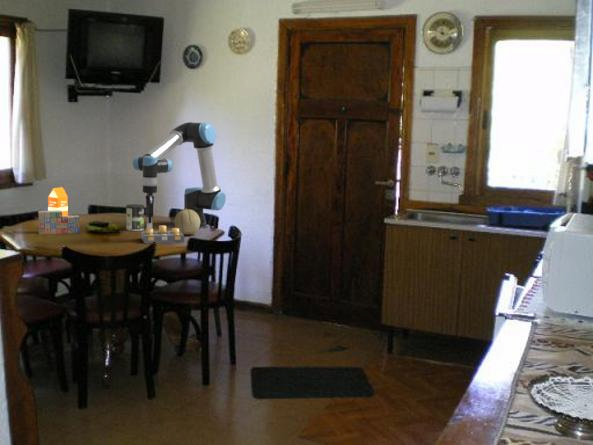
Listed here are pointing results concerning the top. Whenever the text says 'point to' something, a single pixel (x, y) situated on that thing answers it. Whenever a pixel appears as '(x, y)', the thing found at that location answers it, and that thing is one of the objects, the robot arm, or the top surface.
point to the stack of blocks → (57, 223)
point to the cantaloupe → (187, 221)
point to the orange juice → (58, 201)
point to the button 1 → (149, 231)
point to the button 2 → (175, 230)
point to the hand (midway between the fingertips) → (149, 228)
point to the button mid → (162, 229)
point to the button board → (162, 237)
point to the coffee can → (134, 217)
